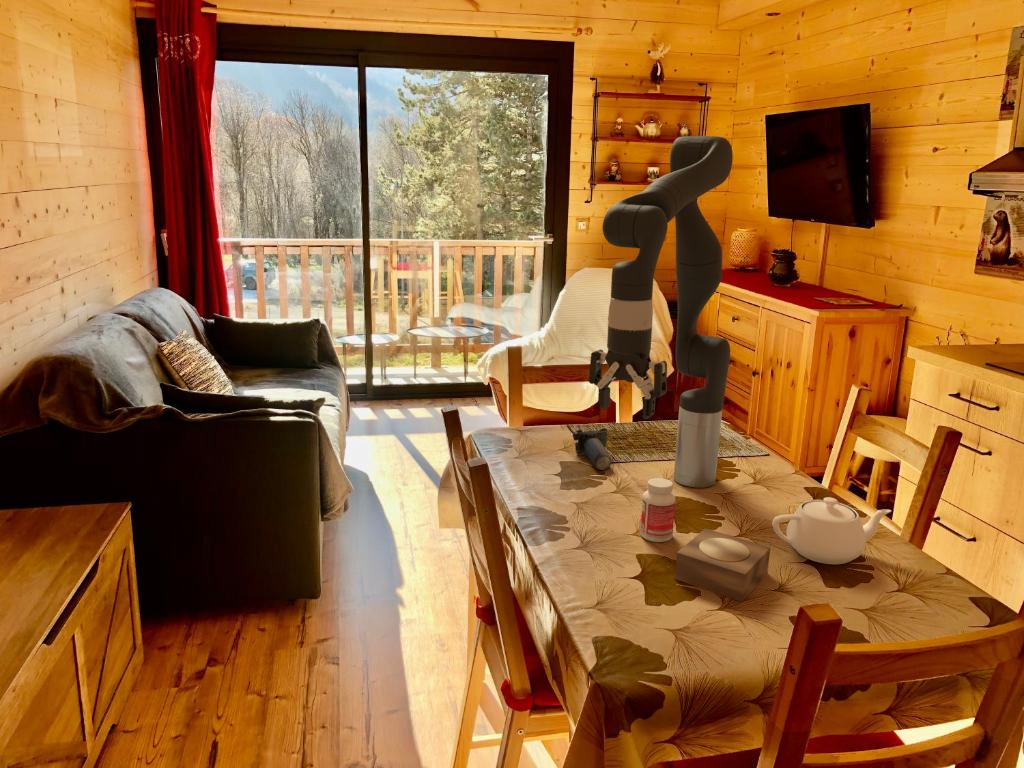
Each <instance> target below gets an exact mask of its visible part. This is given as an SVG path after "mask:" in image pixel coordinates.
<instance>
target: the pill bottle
mask: <svg viewBox="0 0 1024 768" xmlns="http://www.w3.org/2000/svg"><path fill="white" fill-rule="evenodd" d="M673 486H674V485H673V482H672V481H671V480H669V479H667V478H662V477H656V478H655V477H654V478H650V479H649V480H648V481H647V486H646V488H647V490H646V491H644V492H643V494H642V498H641V499H642V502H641V514H640V529H639V531H640V533H639V534H640V536H641V537H642V538H644V540H647V541H650V542H653V543H664V542H668V541H670V540H671V539H672V538H673V535H674V522H675V512H676V496H675V494H674V493H673V492H672V491H673V489H674V488H673Z"/></svg>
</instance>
